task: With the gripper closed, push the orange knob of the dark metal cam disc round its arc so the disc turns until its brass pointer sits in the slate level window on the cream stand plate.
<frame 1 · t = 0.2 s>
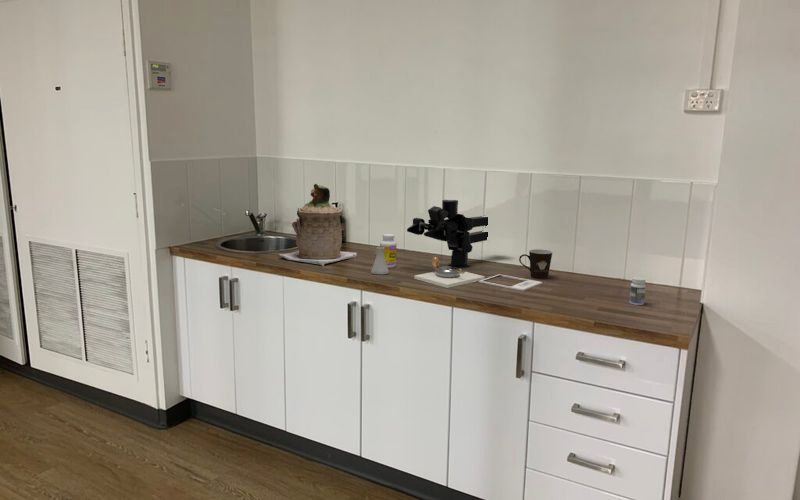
hand: (415, 232, 233), 16 cm above the worktop, tool horizontal, fingers open, 9 cm apart
stand: (449, 279, 230), on the worktop
coffee mug: (535, 277, 236), on the worktop
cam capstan: (448, 267, 229), point 4 cm above the worktop, hinge at -90.0°
flask: (380, 273, 238), on the worktop
photo frame: (510, 284, 226), on the worktop
supplement bottle: (387, 266, 249), on the worktop
pill bottle: (636, 303, 202), on the worktop
cookie jar: (318, 258, 263), on the worktop
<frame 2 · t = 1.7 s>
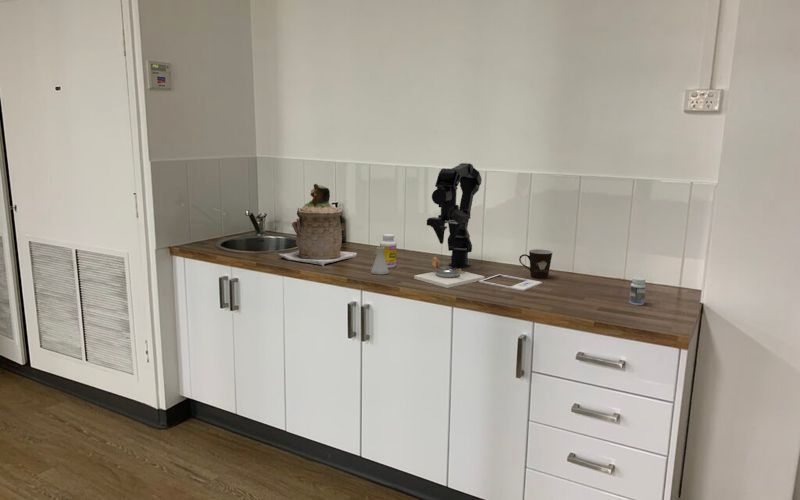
hand: (447, 242, 237), 12 cm above the worktop, tool pointing down, fingers open, 6 cm apart
nothing on the worktop moved.
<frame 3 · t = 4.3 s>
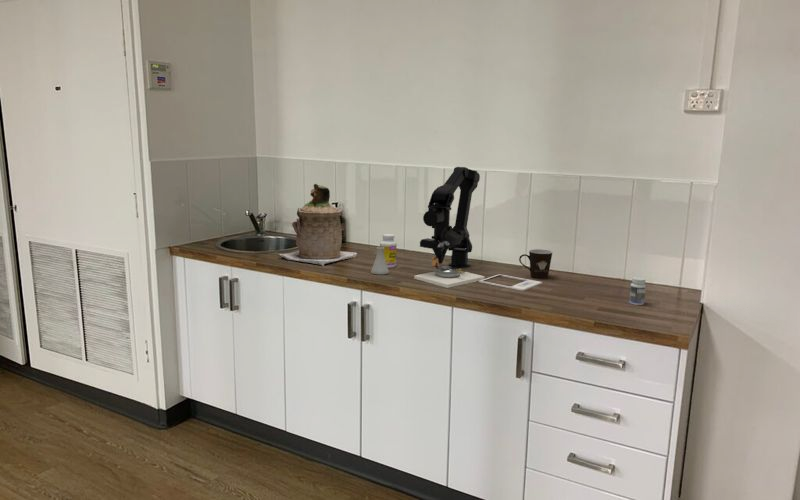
hand: (440, 263, 236), 4 cm above the worktop, tool pointing down, fingers closed
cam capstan: (448, 267, 229), point 4 cm above the worktop, hinge at -88.4°, touching gripper
everything else where it was.
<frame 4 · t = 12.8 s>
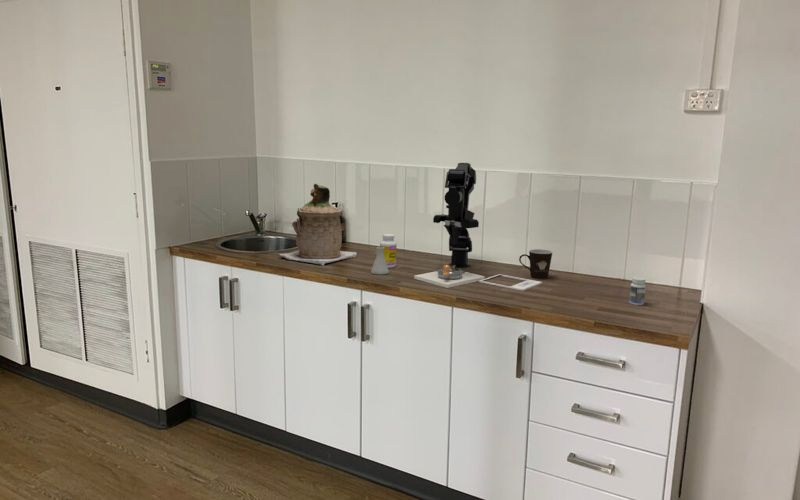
hand: (454, 243, 235), 12 cm above the worktop, tool pointing down, fingers closed
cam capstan: (450, 269, 227), point 4 cm above the worktop, hinge at 32.6°
everything else where it was.
at the end: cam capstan at +33° (first picture: -90°) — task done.
